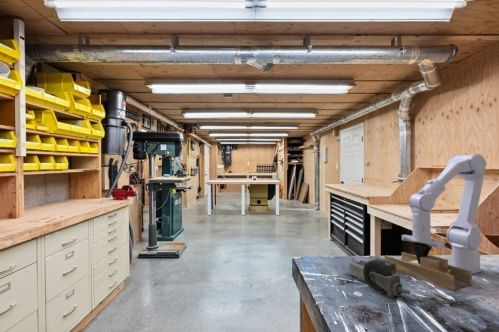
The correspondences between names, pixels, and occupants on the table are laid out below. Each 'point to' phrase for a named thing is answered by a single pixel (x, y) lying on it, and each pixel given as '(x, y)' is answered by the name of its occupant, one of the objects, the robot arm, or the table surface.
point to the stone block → (358, 268)
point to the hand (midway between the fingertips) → (421, 263)
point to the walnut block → (434, 263)
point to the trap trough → (432, 273)
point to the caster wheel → (383, 278)
